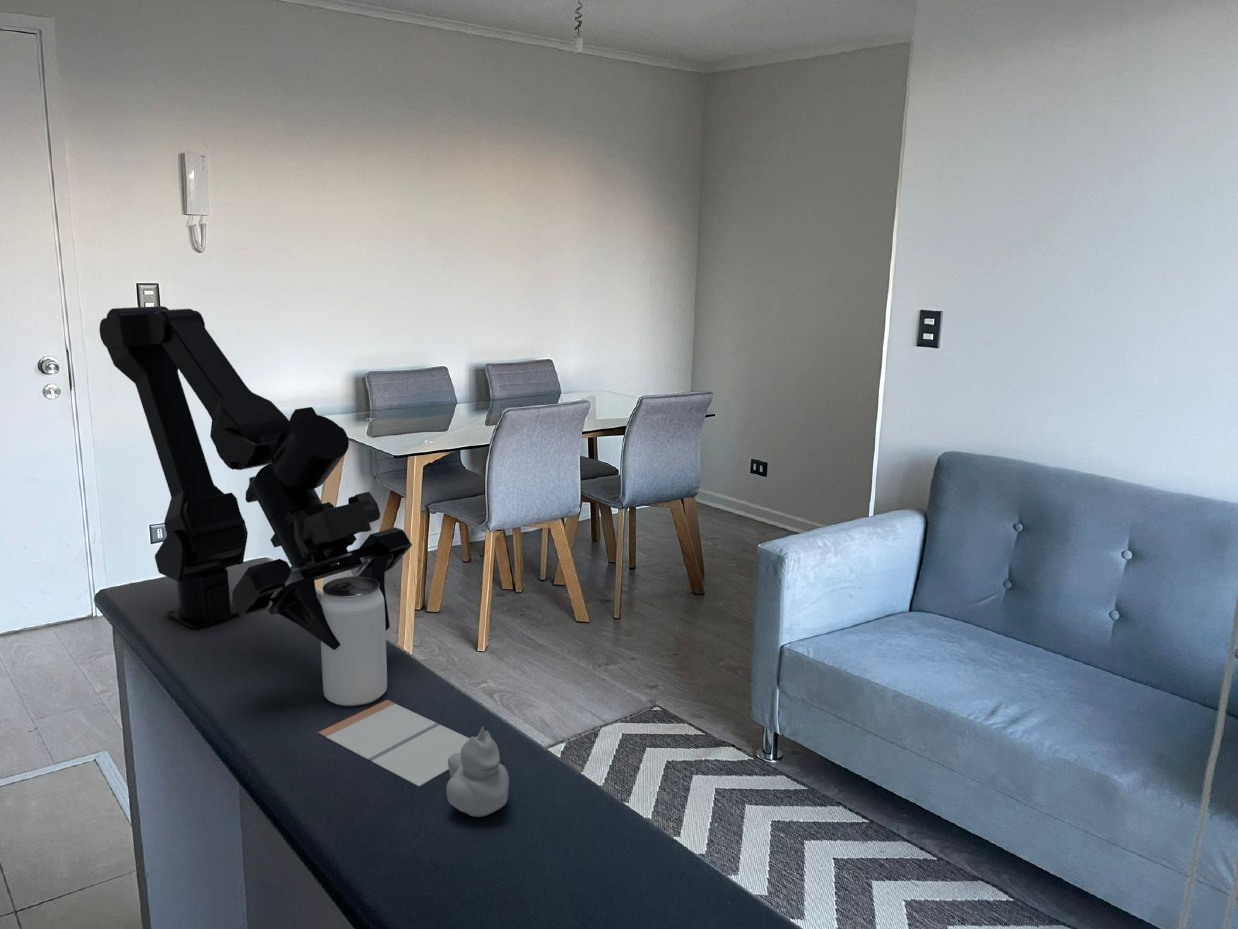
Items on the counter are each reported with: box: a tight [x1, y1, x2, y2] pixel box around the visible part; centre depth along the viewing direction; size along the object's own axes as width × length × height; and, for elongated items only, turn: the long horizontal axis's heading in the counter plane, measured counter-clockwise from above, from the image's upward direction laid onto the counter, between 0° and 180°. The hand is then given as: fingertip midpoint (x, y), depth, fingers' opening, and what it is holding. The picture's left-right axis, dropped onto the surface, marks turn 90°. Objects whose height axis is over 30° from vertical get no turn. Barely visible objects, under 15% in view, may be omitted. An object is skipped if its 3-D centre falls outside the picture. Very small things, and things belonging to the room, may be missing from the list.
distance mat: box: [317, 699, 471, 788], centre depth 92 cm, size 14×8×1 cm, turn 54°
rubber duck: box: [445, 726, 510, 818], centre depth 81 cm, size 5×7×8 cm
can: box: [319, 576, 388, 708], centre depth 99 cm, size 6×6×12 cm
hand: (362, 638), depth 98 cm, fingers closed on can, 6 cm apart
